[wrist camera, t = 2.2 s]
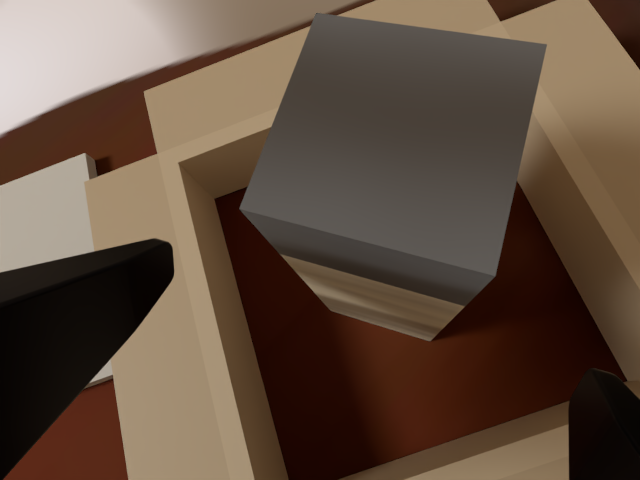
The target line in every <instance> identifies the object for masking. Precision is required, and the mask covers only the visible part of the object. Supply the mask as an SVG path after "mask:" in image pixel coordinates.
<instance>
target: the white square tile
mask: <svg viewBox="0 0 640 480" xmlns="http://www.w3.org/2000/svg"><path fill="white" fill-rule="evenodd" d="M96 177H97V171H96V165H95V160H94V159H93V158H91V157H90V156H89V155H87V154H86V153H84V154H81V155H79V156H76V157H73V158H71V159H68V160H66V161H63V162H61V163H58V164H55V165H53V166H50V167H48V168H45V169H42V170H40V171H37V172H35V173H32V174H30V175H27V176H24V177H22V178H19V179H17V180H14V181H11V182H9V183H6V184H4V185H1V186H0V272H4V271H9V270H13V269H18V268H22V267H27V266H31V265H36V264H40V263H45V262H49V261H54V260H58V259H63V258H67V257H71V256H76V255H80V254H85V253H89V252H94V245H93V239H92V232H91V225H90V218H89V212H88V205H87V198H86V192H85V185H84V182H85V181H88V180H90V179H93V178H96ZM110 379H113V372H112V366H111V359H110V360H109V361H108V363H107V364H106V365H105V366H104V367H103V368H102V369H101V370H100V371H99V373H98V374H97V375H96V376H95V377H94V378H93V379H92V380H91V382H90V383H89V384H88V385H87V386H86V387H85V388H88V387H90V386H93V385H96V384H99V383H102V382H104V381H107V380H110ZM85 388H84V389H85Z"/></svg>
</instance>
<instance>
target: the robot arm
mask: <svg viewBox="0 0 640 480" xmlns="http://www.w3.org/2000/svg"><path fill="white" fill-rule="evenodd" d="M173 277H174V258H173V247H172V245H171V244H170V243H169V242H167V241H164V240H160V239H157V238H152V239H147V240H143V241H139V242H134V243H130V244H125V245H121V246H116V247H112V248H107V249H103V250H98V251H94V252H89V253H85V254H80V255H76V256H71V257H67V258H63V259H58V260H54V261H49V262H45V263H40V264H36V265H31V266H27V267H22V268H18V269H13V270H9V271H4V272H0V480H3V479H4V478H5V477H6V476H7V474H8V473H9V472H10V471H11V470H12V469H13V468H14V467H15V465H16V464H17V463H18V462H19V461H20V460H21V459H22V458H23V457H24V455H25V454H26V453H27V452H28V451H29V450H30V449H31V448H32V446H33V445H34V444H35V443H36V442H37V441H38V440H39V439H40V438H41V436H42V435H43V434H44V433H45V432H46V431H47V430H48V429H49V427H50V426H51V425H52V424H53V423H54V422H55V421H56V420H57V418H58V417H59V416H60V415H61V414H62V413H63V412H64V411H65V410H66V408H67V407H68V406H69V405H70V404H71V403H72V402H73V401H74V399H75V398H76V397H77V396H78V395H79V394H80V393H81V392H82V390H83V389H84V388H85V387H86V386H87V385H88V384H89V383H90V382H91V380H92V379H93V378H94V377H95V376H96V375H97V374H98V373H99V371H100V370H101V369H102V368H103V367H104V366H105V365H106V364H107V363H108V361H109V360H110V359H111V358H112V357H113V356H114V355H115V354H116V352H117V351H118V350H119V349H120V348H121V347H122V346H123V345H124V343H125V342H126V341H127V340H128V339H129V338H130V337H131V336H132V334H133V333H134V332H135V331H136V330H137V328H138V327H139V326H140V324H141V323H142V322H143V320H144V319H145V318H146V316H147V315H148V313H149V312H150V311H151V309H152V308H153V307H154V305H155V304H156V302H157V301H158V300H159V298H160V297H161V295H162V294H163V293H164V291H165V290H166V289H167V287H168V286H169V284H170V283H171V281H172V279H173ZM568 430H569V480H640V399H639V398H638V397H637V396H636V395H635V394H634V393H633V392H632V391H631V390H630V389H629V388H628V387H627V386H626V385H625V384H624V383H623V382H622V380H621V379H620V378H619V377H617V376H616V375H615V374H613V373H610V372H606V371H603V370H599V369H596V368H590V369H588V370H587V371H586V372H585V374H584V376H583V377H582V379H581V381H580V382H579V384H578V386H577V388H576V389H575V391H574V393H573V394H572V396H571V399H570V402H569V407H568Z"/></svg>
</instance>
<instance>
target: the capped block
mask: <svg viewBox="0 0 640 480" xmlns="http://www.w3.org/2000/svg"><path fill="white" fill-rule="evenodd" d="M546 47H547V44H542V43H534V42H527V41H519V40H512V39H505V38H497V37H490V36H483V35H475V34H468V33H461V32H453V31H446V30H438V29H431V28H424V27H416V26H409V25H402V24H394V23H387V22H380V21H372V20H365V19H358V18H350V17H343V16H335V15H328V14H321V13H316V14H315V17H314V19H313V22H312V25H311V27H310V30H309V32H308V35H307V37H306V40H305V42H304V45H303V47H302V50H301V53H300V55H299V58H298V60H297V63H296V65H295V68H294V70H293V73H292V75H291V78H290V81H289V83H288V86H287V88H286V91H285V93H284V96H283V98H282V101H281V103H280V106H279V109H278V111H277V114H276V116H275V119H274V121H273V124H272V126H271V129H270V132H269V134H268V137H267V139H266V142H265V144H264V147H263V149H262V152H261V154H260V157H259V160H258V162H257V165H256V167H255V170H254V172H253V175H252V177H251V180H250V182H249V185H248V188H247V190H246V193H245V195H244V198H243V200H242V203H241V205H240V208H239V209H240V211H241V212H242V213H243V214H244V215H245V216H246V217H247V218H248V219H249V221H250V222H251V223H252V224H253V225H254V226H255V227H256V228H257V229H258V231H259V232H260V233H261V234H262V235H263V236H264V237H265V238H266V239H267V241H268V242H269V243H270V244H271V245H272V246H273V247H274V248H275V249H276V251H277V252H278V253H279V254H280V255H281V256H282V257H283V258H284V259H285V261H286V262H287V263H288V264H289V265H290V266H291V267H292V268H293V269H294V271H295V272H296V273H297V274H298V275H299V276H300V277H301V278H302V279H303V281H304V282H305V283H306V284H307V285H308V286H309V287H310V288H311V289H312V291H313V292H314V293H315V294H316V295H317V296H318V297H319V298H320V299H321V301H322V302H323V303H324V304H325V305H326V306H327V307H328V308H329V309H330V311H333V312H336V313H339V314H342V315H346V316H349V317H352V318H355V319H359V320H362V321H365V322H368V323H372V324H375V325H378V326H381V327H385V328H388V329H391V330H394V331H398V332H401V333H404V334H407V335H411V336H414V337H417V338H420V339H424V340H427V341H431V340H432V339H433V338H434V337H435V336H436V335H437V334H438V333H439V332H440V331H441V330H442V329H443V328H444V327H445V326H446V325H447V324H448V323H449V322H450V321H451V320H452V319H453V318H454V317H455V316H456V315H457V314H458V313H459V312H460V311H461V310H462V309H463V308H464V307H465V306H466V305H467V304H468V303H469V302H470V301H471V300H472V299H473V298H474V297H475V296H476V295H477V294H478V293H479V292H480V291H481V290H482V289H483V288H484V287H485V286H486V285H487V284H488V283H489V282H490V281H491V280H492V279H493V278H494V277H495V276H496V272H497V267H498V263H499V258H500V254H501V249H502V245H503V240H504V236H505V231H506V227H507V222H508V218H509V213H510V209H511V204H512V200H513V195H514V191H515V186H516V182H517V177H518V173H519V168H520V164H521V159H522V155H523V150H524V146H525V141H526V137H527V132H528V128H529V123H530V119H531V114H532V110H533V106H534V101H535V97H536V92H537V88H538V83H539V79H540V74H541V70H542V65H543V61H544V56H545V52H546Z"/></svg>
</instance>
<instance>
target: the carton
mask: <svg viewBox="0 0 640 480" xmlns="http://www.w3.org/2000/svg"><path fill="white" fill-rule="evenodd" d="M338 16H343V17H350V18H358V19H365V20H372V21H380V22H387V23H394V24H402V25H409V26H416V27H424V28H431V29H438V30H446V31H453V32H461V33H468V34H475V35H483V36H490V37H497V38H505V39H512V40H519V41H527V42H534V43H542V44H547V47H546V52H545V56H544V61H543V65H542V70H541V74H540V79H539V83H538V88H537V92H536V97H535V101H534V106H533V110H532V114H531V119H530V123H529V128H528V132H527V137H526V141H525V146H524V150H523V155H522V159H521V164H520V168H519V173H518V177H517V181H518V183H519V185H520V187H521V188H522V190H523V192H524V194H525V196H526V197H527V199H528V201H529V203H530V205H531V206H532V208H533V210H534V212H535V214H536V216H537V217H538V219H539V221H540V223H541V225H542V226H543V228H544V230H545V232H546V234H547V236H548V237H549V239H550V241H551V243H552V245H553V246H554V248H555V250H556V252H557V254H558V255H559V257H560V259H561V261H562V263H563V265H564V266H565V268H566V270H567V272H568V274H569V275H570V277H571V279H572V281H573V283H574V285H575V286H576V288H577V290H578V292H579V294H580V295H581V297H582V299H583V301H584V303H585V305H586V306H587V308H588V310H589V312H590V314H591V315H592V317H593V319H594V321H595V323H596V324H597V326H598V328H599V330H600V332H601V334H602V335H603V337H604V339H605V341H606V343H607V344H608V346H609V348H610V350H611V352H612V354H613V355H614V357H615V359H616V361H617V363H618V364H619V366H620V368H621V370H622V372H623V373H624V375H625V377H626V379H627V381H626V382H623V383H624V384H625V385H626V386H627V387H628V388H629V389H630V390H631V391H632V392H633V393H634V394H635V395H636V396H637V397H638V398H639V399H640V70H639V68H638V67H637V66H636V64H635V63H634V62H633V60H632V59H631V58H630V56H629V55H628V54H627V52H626V51H625V49H624V48H623V47H622V45H621V44H620V43H619V41H618V40H617V39H616V37H615V36H614V35H613V33H612V32H611V31H610V29H609V28H608V27H607V25H606V24H605V22H604V21H603V20H602V18H601V17H600V16H599V14H598V13H597V12H596V10H595V9H594V8H593V6H592V5H591V4H590V2H589V1H588V0H557V1H554V2H551V3H549V4H546V5H544V6H541V7H538V8H536V9H533V10H530V11H528V12H525V13H523V14H520V15H517V16H515V17H512V18H510V19H507V20H504V21H502V22H500V20H499V19H498V17H497V16H496V14H495V12H494V11H493V9H492V8H491V6H490V4H489V3H488V1H487V0H376V1H374V2H371V3H368V4H366V5H363V6H361V7H358V8H356V9H353V10H351V11H348V12H345V13H343V14H340V15H338ZM310 27H311V26H310ZM310 27H307V28H305V29H302V30H299V31H297V32H294V33H292V34H289V35H287V36H284V37H282V38H279V39H277V40H274V41H271V42H269V43H266V44H264V45H261V46H259V47H256V48H254V49H251V50H248V51H246V52H243V53H241V54H238V55H236V56H233V57H231V58H228V59H225V60H223V61H220V62H218V63H215V64H213V65H210V66H208V67H205V68H203V69H200V70H197V71H195V72H192V73H190V74H187V75H185V76H182V77H180V78H177V79H174V80H172V81H169V82H167V83H164V84H162V85H159V86H157V87H154V88H151V89H149V90H146V91H144V96H145V100H146V105H147V109H148V113H149V118H150V122H151V127H152V131H153V136H154V140H155V145H156V149H157V154H156V155H153V156H150V157H148V158H145V159H143V160H140V161H137V162H135V163H132V164H129V165H127V166H124V167H122V168H119V169H116V170H114V171H111V172H109V173H106V174H103V175H101V176H98V177H96V178H93V179H90V180H88V181H85V182H84V185H85V192H86V198H87V205H88V212H89V218H90V225H91V232H92V239H93V245H94V251H98V250H103V249H107V248H112V247H116V246H121V245H125V244H130V243H134V242H139V241H143V240H147V239H152V238H157V239H160V240H164V241H167V242H169V243H170V244H171V245H172V247H173V258H174V277H173V279H172V281H171V283H170V284H169V286H168V287H167V289H166V290H165V291H164V293H163V294H162V295H161V297H160V298H159V300H158V301H157V302H156V304H155V305H154V307H153V308H152V309H151V311H150V312H149V313H148V315H147V316H146V318H145V319H144V320H143V322H142V323H141V324H140V326H139V327H138V328H137V330H136V331H135V332H134V333H133V334H132V336H131V337H130V338H129V339H128V340H127V341H126V342H125V343H124V345H123V346H122V347H121V348H120V349H119V350H118V351H117V352H116V354H115V355H114V356H113V357H112V358H111V366H112V372H113V379H114V386H115V392H116V399H117V406H118V413H119V419H120V426H121V433H122V439H123V446H124V453H125V459H126V466H127V473H128V479H129V480H289V479H288V475H287V471H286V467H285V463H284V460H283V456H282V452H281V448H280V445H279V441H278V437H277V433H276V430H275V426H274V422H273V418H272V415H271V411H270V407H269V403H268V400H267V396H266V392H265V388H264V384H263V381H262V377H261V373H260V369H259V366H258V362H257V358H256V354H255V351H254V347H253V343H252V339H251V336H250V332H249V328H248V324H247V320H246V317H245V313H244V309H243V305H242V302H241V298H240V294H239V290H238V287H237V283H236V279H235V275H234V272H233V268H232V264H231V260H230V256H229V253H228V249H227V245H226V241H225V238H224V234H223V230H222V226H221V223H220V219H219V215H218V211H217V208H216V204H215V200H214V199H216V198H218V197H221V196H224V195H226V194H229V193H232V192H234V191H237V190H240V189H242V188H245V187H248V185H249V182H250V180H251V177H252V175H253V172H254V170H255V167H256V165H257V162H258V160H259V157H260V154H261V152H262V149H263V147H264V144H265V142H266V139H267V137H268V134H269V132H270V129H271V126H272V124H273V121H274V119H275V116H276V114H277V111H278V109H279V106H280V103H281V101H282V98H283V96H284V93H285V91H286V88H287V86H288V83H289V81H290V78H291V75H292V73H293V70H294V68H295V65H296V63H297V60H298V58H299V55H300V53H301V50H302V47H303V45H304V42H305V40H306V37H307V35H308V32H309V30H310ZM569 402H570V401H567V402H564V403H561V404H559V405H556V406H553V407H550V408H547V409H544V410H541V411H538V412H535V413H532V414H529V415H526V416H523V417H520V418H517V419H514V420H511V421H509V422H506V423H503V424H500V425H497V426H494V427H491V428H488V429H485V430H482V431H479V432H476V433H473V434H470V435H467V436H464V437H461V438H459V439H456V440H453V441H450V442H447V443H444V444H441V445H438V446H435V447H432V448H429V449H426V450H423V451H420V452H417V453H414V454H411V455H409V456H406V457H403V458H400V459H397V460H394V461H391V462H388V463H385V464H382V465H379V466H376V467H373V468H370V469H367V470H364V471H361V472H359V473H356V474H353V475H350V476H347V477H344V478H341V479H338V480H569V430H568V407H569Z"/></svg>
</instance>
